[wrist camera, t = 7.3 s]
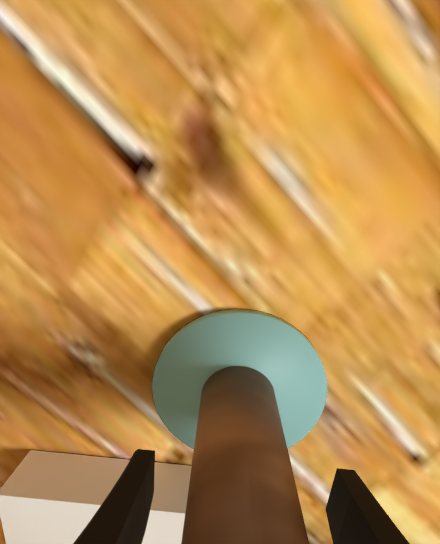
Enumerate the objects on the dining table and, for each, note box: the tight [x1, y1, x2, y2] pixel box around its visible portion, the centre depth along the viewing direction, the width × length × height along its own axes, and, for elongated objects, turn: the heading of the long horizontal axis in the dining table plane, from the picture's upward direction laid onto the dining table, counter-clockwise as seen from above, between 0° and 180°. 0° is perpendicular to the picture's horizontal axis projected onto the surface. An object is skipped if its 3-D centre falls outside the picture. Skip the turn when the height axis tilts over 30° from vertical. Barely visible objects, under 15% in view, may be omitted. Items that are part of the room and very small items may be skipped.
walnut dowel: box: [181, 366, 309, 544], centre depth 10 cm, size 4×4×8 cm
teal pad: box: [152, 309, 327, 449], centre depth 14 cm, size 9×9×1 cm
